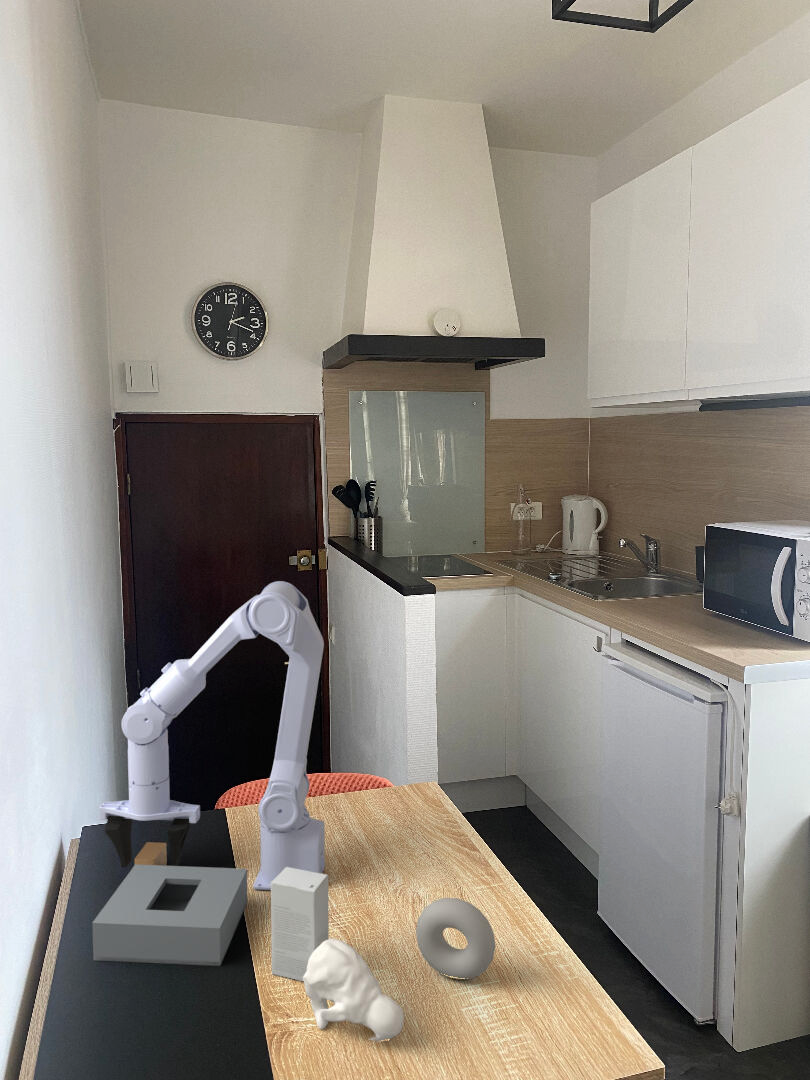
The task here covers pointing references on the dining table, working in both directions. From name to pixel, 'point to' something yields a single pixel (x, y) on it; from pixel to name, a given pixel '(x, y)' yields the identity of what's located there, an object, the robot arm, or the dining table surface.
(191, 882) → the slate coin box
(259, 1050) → the dining table surface
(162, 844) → the brown wooden block
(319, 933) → the skincare box
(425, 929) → the donut
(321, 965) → the white animal sculpture
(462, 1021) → the dining table surface
